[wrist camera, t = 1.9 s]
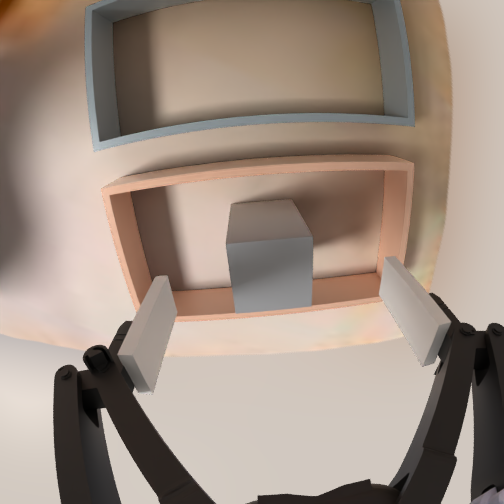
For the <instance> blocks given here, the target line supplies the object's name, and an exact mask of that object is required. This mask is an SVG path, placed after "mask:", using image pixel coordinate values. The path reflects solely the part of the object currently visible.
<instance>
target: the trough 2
mask: <svg viewBox="0 0 504 504" xmlns="http://www.w3.org/2000/svg"><path fill="white" fill-rule="evenodd" d="M345 170H385V173H384V196H383V212H382V224H381V235H380V244H379V253H378V261H377V269H376V272H375V273H367V274H358V275H350V276H341V277H332V278H323V279H314V280H312V306H311V307H302V308H293V309H284V310H274V311H263V312H251V313H239V314H236V312H235V306H234V299H233V292H232V287H228V288H215V289H201V290H187V291H172V294H173V298H174V302H175V305H176V309H177V315H176V318H175V321H174V322H187V321H207V320H223V319H237V318H250V317H262V316H272V315H283V314H292V313H301V312H310V311H318V310H326V309H334V308H341V307H349V306H356V305H362V304H369V303H375V302H381V301H383V300H382V299H381V297H380V296H379V290H380V284H381V278H382V271H383V265H384V257H390V256H395V257H396V258H397V259H398V260H399V261H400V262H401V263H402V264H403V265H404V259H405V253H406V247H407V240H408V233H409V225H410V216H411V207H412V195H413V182H414V163H413V162H410V161H407V160H404V159H401V158H398V157H395V156H392V155H361V154H345V155H304V156H284V157H269V158H256V159H244V160H234V161H224V162H215V163H207V164H199V165H192V166H184V167H178V168H171V169H165V170H158V171H152V172H147V173H141V174H136V175H130V176H125V177H121V178H119V179H117V180H115V181H114V182H112V183H110V184H108V185H107V186H105V187H103V188H101V192H102V197H103V201H104V205H105V210H106V214H107V218H108V222H109V226H110V230H111V234H112V237H113V241H114V245H115V248H116V252H117V255H118V258H119V262H120V265H121V268H122V271H123V275H124V278H125V281H126V284H127V287H128V290H129V293H130V296H131V298H132V301H133V304H134V307H135V310H136V312H138V310H139V308H140V306H141V304H142V302H143V300H144V298H145V296H146V294H147V292H148V290H149V288H150V286H151V284H152V279H151V276H150V272H149V269H148V265H147V261H146V257H145V254H144V250H143V246H142V242H141V238H140V234H139V229H138V225H137V221H136V216H135V212H134V207H133V202H132V197H131V192H130V191H135V190H141V189H148V188H154V187H160V186H167V185H174V184H181V183H189V182H197V181H205V180H213V179H222V178H232V177H242V176H253V175H265V174H279V173H295V172H315V171H345Z"/></svg>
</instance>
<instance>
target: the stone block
mask: <svg viewBox="0 0 504 504" xmlns="http://www.w3.org/2000/svg"><path fill="white" fill-rule="evenodd" d="M226 249H227V257H228V264H229V271H230V278H231V285H232V292H233V299H234V306H235V312H236V314H239V313H251V312H263V311H274V310H284V309H293V308H302V307H311V306H312V279H313V235H312V234H311V232H310V230H309V228H308V227H307V225H306V223H305V221H304V220H303V218H302V216H301V214H300V213H299V211H298V209H297V208H296V206H295V204H294V202H293V201H292V199H283V200H270V201H258V202H247V203H236V204H231V208H230V215H229V223H228V231H227V238H226Z"/></svg>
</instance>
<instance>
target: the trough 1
mask: <svg viewBox="0 0 504 504" xmlns="http://www.w3.org/2000/svg"><path fill="white" fill-rule="evenodd" d="M197 1H203V0H102V1H99V2H97V3H94V4H92V5H90V6H87V7H86V10H85V74H86V89H87V101H88V111H89V120H90V128H91V136H92V143H93V149H94V152H96V151H100V150H103V149H107V148H111V147H115V146H119V145H124V144H128V143H133V142H137V141H142V140H147V139H152V138H157V137H162V136H168V135H174V134H180V133H186V132H193V131H200V130H207V129H215V128H223V127H233V126H243V125H255V124H269V123H289V122H358V123H377V124H391V125H402V126H412V127H415V112H414V93H413V80H412V69H411V60H410V53H409V45H408V39H407V33H406V27H405V22H404V17H403V12H402V7H401V3H400V0H350V1H357V2H362V3H368V4H371V6H372V11H373V16H374V22H375V27H376V34H377V40H378V48H379V56H380V64H381V74H382V86H383V100H384V116H380V115H366V114H344V113H292V114H270V115H255V116H243V117H233V118H223V119H215V120H207V121H200V122H193V123H186V124H180V125H174V126H169V127H163V128H158V129H153V130H148V131H143V132H139V133H134V134H130V135H126V136H121V133H120V125H119V117H118V108H117V98H116V87H115V73H114V55H113V23H114V22H117V21H119V20H122V19H126V18H129V17H132V16H135V15H139V14H142V13H146V12H150V11H153V10H157V9H162V8H166V7H170V6H175V5H180V4H185V3H191V2H197Z"/></svg>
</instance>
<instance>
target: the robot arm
mask: <svg viewBox="0 0 504 504" xmlns="http://www.w3.org/2000/svg"><path fill="white" fill-rule="evenodd" d="M379 296H380V297H381V299H382V300H383V302H384V303H385V305H386V307H387V308H388V310H389V311H390V313H391V315H392V316H393V318H394V319H395V321H396V323H397V324H398V326H399V328H400V329H401V331H402V333H403V334H404V336H405V338H406V339H407V341H408V343H409V345H410V346H411V348H412V350H413V352H414V353H415V355H416V357H417V359H418V360H419V362H420V364H421V366H422V367H423V366H427V365H430V364H433V363H434V362H435V360H436V358H437V355H438V356H439V358H440V359H441V361H440V363H439V365H438V367H437V369H436V371H435V375H436V376H435V380H434V383H433V386H432V390H431V393H430V396H429V399H428V402H427V405H426V408H425V410H424V413H423V416H422V419H421V421H420V424H419V426H418V429H417V431H416V434H415V436H414V438H413V441H412V443H411V445H410V448H409V450H408V452H407V454H406V457H405V459H404V461H403V463H402V465H401V467H400V469H399V471H398V472H397V474H396V476H395V477H394V478H393V480H392V481H391V483H390V484H389V486H387V485H381V484H371V481H370V479H368V480H364V481H360V482H355V483H351V484H346V485H343V486H341V487H338V488H336V489H334V490H332V491H329V492H326V493H324V494H321V495H319V496H301V495H292V494H278V495H263V496H258V500H257V501H253V502H250V503H247V504H441V501H442V499H443V497H444V494H445V492H446V490H447V487H448V485H449V482H450V479H451V477H452V474H453V471H454V468H455V465H456V462H457V458H456V457H455V456H454V453H455V449H456V446H457V443H458V439H459V436H460V432H461V429H462V424H463V420H464V416H465V412H466V408H467V403H468V398H469V392H470V387H471V382H472V394H473V410H474V453H473V454H474V455H473V470H472V480H471V503H470V504H504V327H503V326H502V325H500V324H497V323H491V324H489V326H488V328H487V330H486V331H476V330H475V328H474V327H473V326H471V325H470V324H467V323H460V322H459V320H458V319H457V318H456V317H455V315H454V314H453V313H452V312H451V310H450V309H448V307H447V306H446V304H444V302H443V301H442V300H441V298H440V297H438V296H436V295H435V294H433V293H429V294H428V293H427V291H426V290H425V289H424V288H423V287H422V286H421V284H420V283H419V282H418V281H417V280H416V279H415V278H414V276H413V275H412V274H411V273H410V272H409V271H408V270H407V269H406V267H405V266H404V265H403V264H402V263H401V262H400V261H399V260H398V259H397V258H396V257H395V256H390V257H384V265H383V271H382V278H381V284H380V290H379ZM176 315H177V309H176V305H175V302H174V298H173V294H172V291H171V287H170V283H169V279H168V275H165V276H156V277H155V278H154V280H153V282H152V284H151V286H150V288H149V290H148V292H147V294H146V296H145V298H144V300H143V302H142V304H141V306H140V308H139V310H138V312H137V314H136V316H135V318H134V320H133V321H125V322H124V323H123V324H122V325H121V326H120V327H119V329H118V331H117V333H116V335H115V337H114V339H113V341H112V343H111V345H110V347H109V349H107V348H106V346H103V345H96V346H93V347H91V348H89V349H88V350H87V351H86V352H85V353H84V355H83V361H84V363H85V365H86V366H87V368H88V369H89V370H84V371H77V369H76V368H75V367H74V366H73V365H65V366H63V367H61V368H60V369H58V371H57V372H56V374H55V379H54V405H53V410H54V411H53V419H54V420H53V423H54V448H55V461H56V471H57V479H58V487H59V493H60V499H61V504H121V501H120V498H119V494H118V491H117V488H116V484H115V480H114V476H113V472H112V468H111V464H110V460H109V455H108V450H107V445H106V440H105V434H104V429H103V423H102V417H101V410H100V408H106V409H107V411H108V413H109V415H110V417H111V419H112V421H113V423H114V425H115V427H116V429H117V431H118V433H119V435H120V437H121V439H122V440H123V442H124V444H125V446H126V448H127V449H128V451H129V453H130V454H131V456H132V458H133V460H134V461H135V463H136V464H137V466H138V468H139V469H140V471H141V472H142V474H143V475H144V477H145V479H146V480H147V482H148V483H149V484H150V486H151V487H152V489H153V490H154V492H155V493H156V494H157V496H158V499H159V502H160V504H216V503H215V502H214V501H213V500H212V499H211V498H210V497H209V496H208V495H207V493H206V492H205V491H204V490H203V489H202V488H201V487H200V486H199V484H198V483H197V482H196V481H195V480H194V479H193V478H192V476H191V475H190V474H189V473H188V471H187V470H186V469H185V468H184V467H183V465H182V464H181V463H180V462H179V460H178V459H177V458H176V456H175V455H174V454H173V452H172V451H171V450H170V449H169V447H168V446H167V444H166V443H165V442H164V441H163V439H162V437H161V436H160V435H159V433H158V432H157V430H156V429H155V427H154V426H153V424H152V423H151V422H150V420H149V418H148V417H147V416H146V414H145V412H144V411H143V409H142V408H141V406H140V404H139V403H138V401H137V400H136V398H135V397H134V395H133V389H134V387H135V388H136V390H137V391H138V393H140V394H152V395H153V392H154V389H155V385H156V382H157V378H158V375H159V371H160V367H161V364H162V360H163V357H164V354H165V351H166V347H167V344H168V341H169V337H170V334H171V331H172V328H173V325H174V321H175V318H176Z"/></svg>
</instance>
